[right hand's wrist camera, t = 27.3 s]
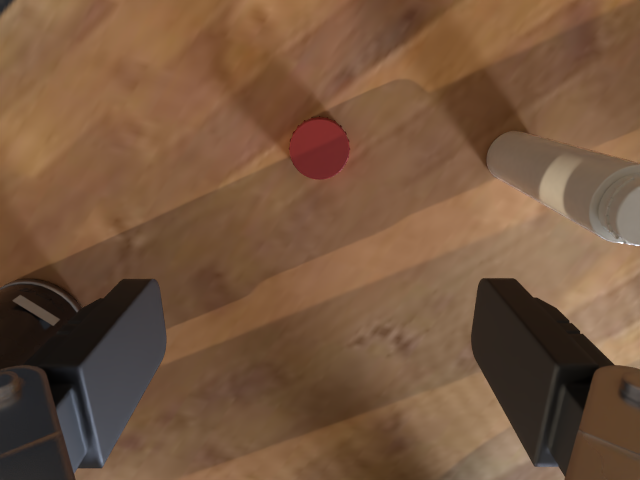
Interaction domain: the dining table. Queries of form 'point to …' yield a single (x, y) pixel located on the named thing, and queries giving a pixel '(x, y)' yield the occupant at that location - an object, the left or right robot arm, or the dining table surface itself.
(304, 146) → the lid
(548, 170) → the jar
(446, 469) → the dining table surface
